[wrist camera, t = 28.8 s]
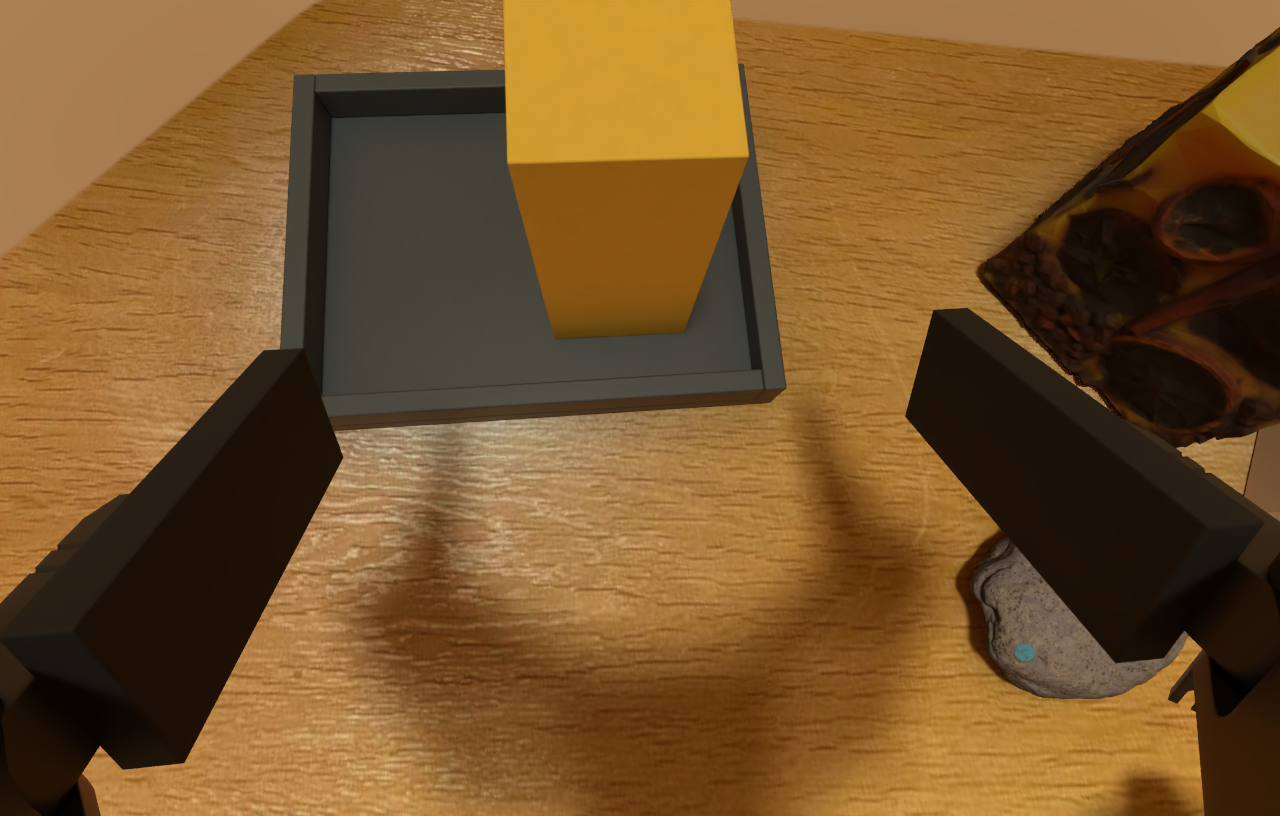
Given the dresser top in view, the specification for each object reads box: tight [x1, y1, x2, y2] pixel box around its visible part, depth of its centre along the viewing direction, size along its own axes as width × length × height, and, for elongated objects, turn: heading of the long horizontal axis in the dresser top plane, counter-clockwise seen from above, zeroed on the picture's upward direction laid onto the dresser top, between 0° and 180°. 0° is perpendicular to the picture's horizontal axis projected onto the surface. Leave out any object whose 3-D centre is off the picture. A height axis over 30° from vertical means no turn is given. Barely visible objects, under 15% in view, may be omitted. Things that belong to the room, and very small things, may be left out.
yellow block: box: [503, 0, 749, 339], centre depth 18 cm, size 5×8×11 cm, turn 4°
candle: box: [983, 27, 1280, 448], centre depth 21 cm, size 10×10×10 cm
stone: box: [970, 536, 1188, 699], centre depth 21 cm, size 7×8×2 cm
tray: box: [280, 64, 786, 431], centre depth 23 cm, size 18×14×2 cm
